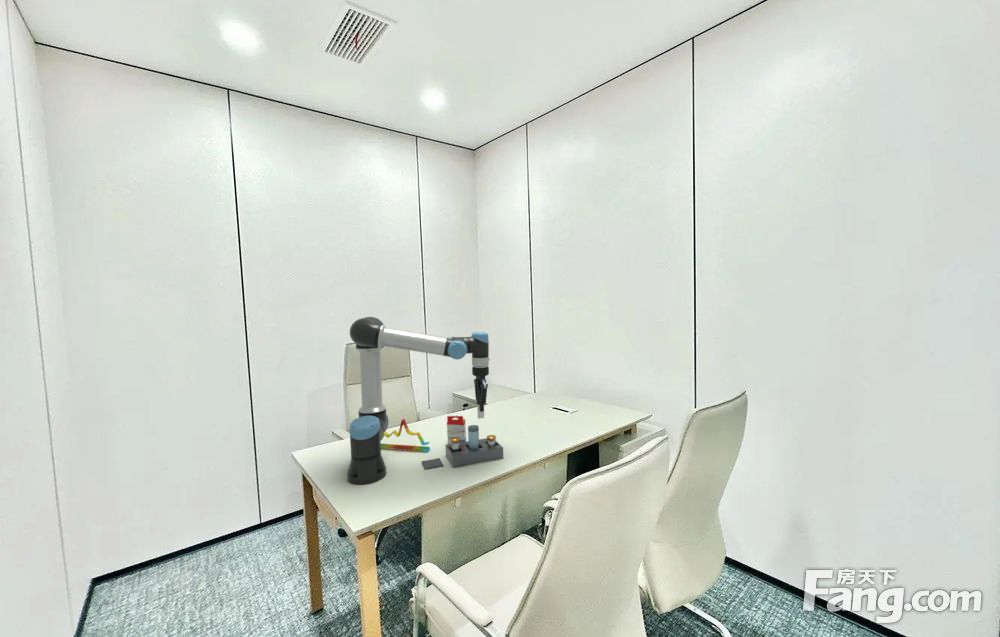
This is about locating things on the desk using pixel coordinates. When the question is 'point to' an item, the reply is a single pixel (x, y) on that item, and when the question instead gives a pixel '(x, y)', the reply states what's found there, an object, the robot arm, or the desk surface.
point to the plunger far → (491, 440)
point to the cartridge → (473, 437)
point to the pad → (432, 463)
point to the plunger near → (455, 444)
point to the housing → (474, 453)
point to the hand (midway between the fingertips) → (480, 417)
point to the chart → (405, 447)
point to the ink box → (456, 428)
